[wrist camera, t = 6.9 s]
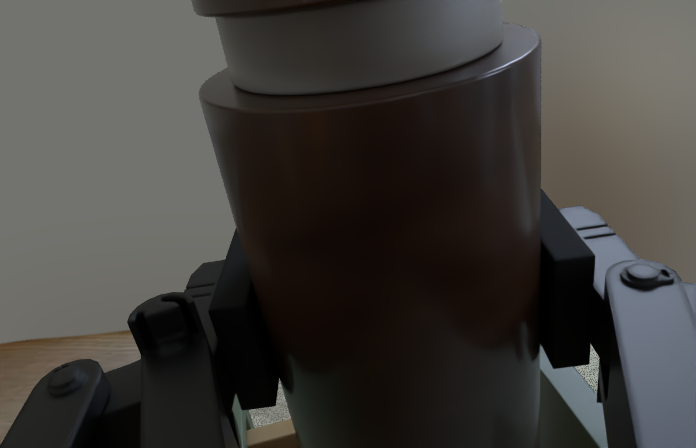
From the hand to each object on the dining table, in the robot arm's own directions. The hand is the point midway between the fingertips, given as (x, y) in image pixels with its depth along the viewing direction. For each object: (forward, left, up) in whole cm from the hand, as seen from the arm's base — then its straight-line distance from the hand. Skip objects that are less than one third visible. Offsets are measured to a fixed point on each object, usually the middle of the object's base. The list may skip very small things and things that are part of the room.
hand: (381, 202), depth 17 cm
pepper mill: (+1, +5, -14) cm, 15 cm away
